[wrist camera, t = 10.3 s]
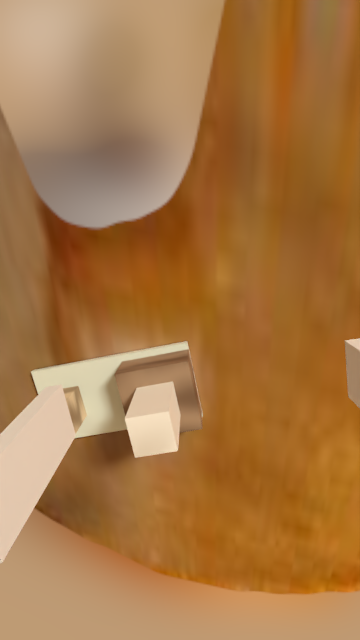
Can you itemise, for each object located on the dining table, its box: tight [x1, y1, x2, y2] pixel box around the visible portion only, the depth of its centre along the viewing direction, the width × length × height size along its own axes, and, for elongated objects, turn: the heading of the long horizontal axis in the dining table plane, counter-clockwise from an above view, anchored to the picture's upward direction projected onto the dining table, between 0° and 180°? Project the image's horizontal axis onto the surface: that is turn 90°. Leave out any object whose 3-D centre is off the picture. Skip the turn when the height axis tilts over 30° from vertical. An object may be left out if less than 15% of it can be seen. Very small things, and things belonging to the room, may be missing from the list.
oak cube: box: [63, 386, 87, 433], centre depth 49 cm, size 5×5×5 cm
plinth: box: [114, 349, 202, 433], centre depth 48 cm, size 10×10×5 cm
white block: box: [125, 382, 181, 458], centre depth 41 cm, size 5×5×8 cm
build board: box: [31, 341, 203, 438], centre depth 51 cm, size 12×24×1 cm, turn 102°
